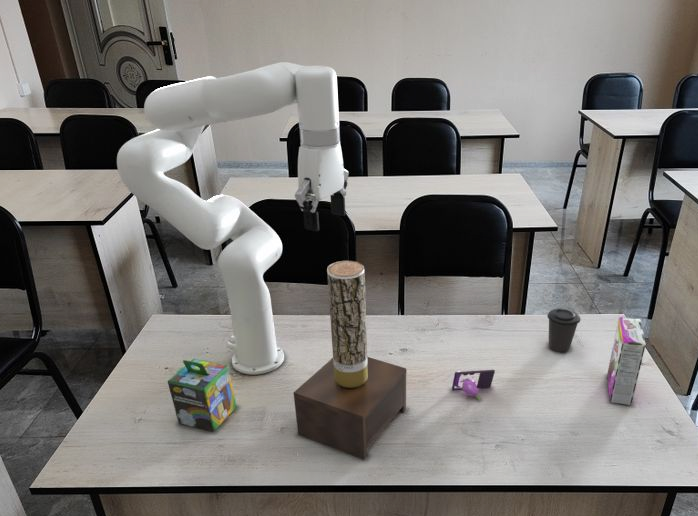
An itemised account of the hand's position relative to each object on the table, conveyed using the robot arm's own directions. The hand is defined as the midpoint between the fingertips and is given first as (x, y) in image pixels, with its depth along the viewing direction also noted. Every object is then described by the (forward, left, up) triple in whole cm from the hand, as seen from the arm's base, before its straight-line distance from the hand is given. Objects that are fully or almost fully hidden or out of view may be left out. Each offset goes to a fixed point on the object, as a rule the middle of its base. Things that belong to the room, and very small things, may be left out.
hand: (325, 222), depth 124 cm
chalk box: (-16, -26, -38) cm, 49 cm away
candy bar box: (+61, +25, -38) cm, 76 cm away
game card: (+32, +8, -38) cm, 51 cm away
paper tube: (+13, -13, -28) cm, 33 cm away
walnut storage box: (+13, -13, -38) cm, 42 cm away
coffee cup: (+44, +37, -38) cm, 69 cm away
